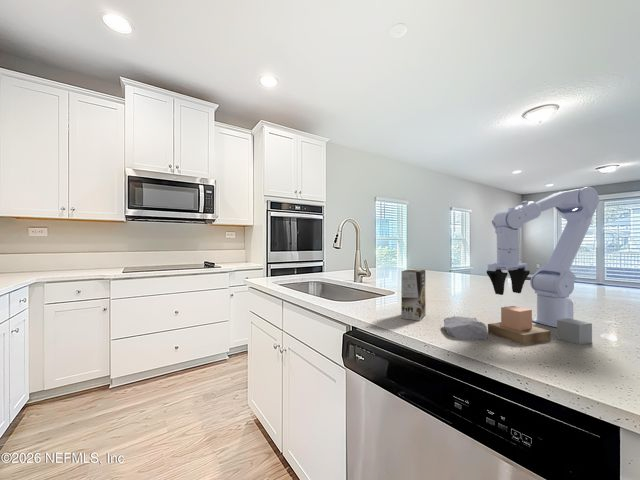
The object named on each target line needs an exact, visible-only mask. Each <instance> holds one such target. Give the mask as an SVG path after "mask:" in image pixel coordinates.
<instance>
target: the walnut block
mask: <svg viewBox="0 0 640 480" xmlns="http://www.w3.org/2000/svg"><path fill="white" fill-rule="evenodd" d="M487 334H490V335H494V336H495V337H496V336H497V337H498V338H499V337H500V338H501V339H504V340H506V341H507V340H508V341H510V342H514V343H517V344H519V345H522V346H527V345H531V344H538V343H544V342H551V338H552V337H551V336H552V335H551V330H550V329H549V330H548V329H546V328H543V327H542V328H541V327H538V326H534V325H532V328H531V329H526V330H520V331H519V330H516V329H512V328H509V327H505V326H502V325H501V321H500V322H492V323H487Z"/></svg>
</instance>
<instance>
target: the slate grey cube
mask: <svg viewBox="0 0 640 480" xmlns="http://www.w3.org/2000/svg"><path fill="white" fill-rule="evenodd" d="M556 339H558V340H562V341H565V342H569V343H572V344H576V345H585V344H591V343H593V323H592V322H587V321H583V320H578V319H575V318H574V319H570V318H567V319H560V320H557V327H556Z"/></svg>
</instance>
